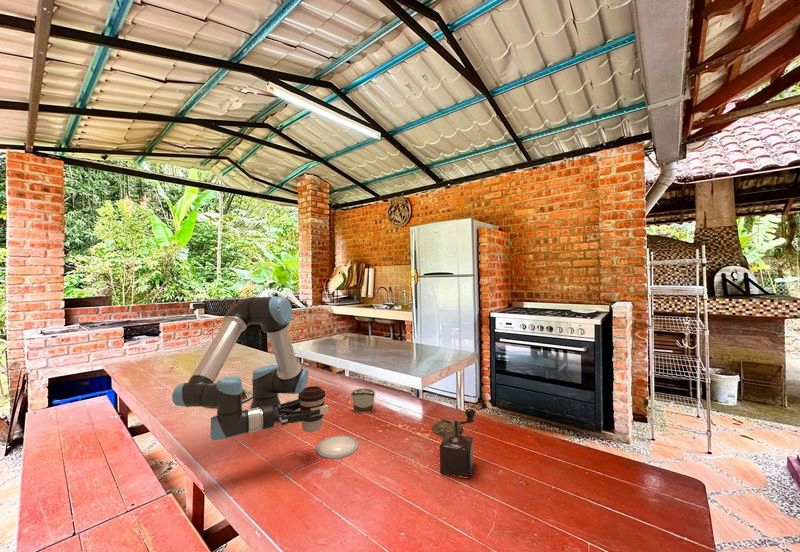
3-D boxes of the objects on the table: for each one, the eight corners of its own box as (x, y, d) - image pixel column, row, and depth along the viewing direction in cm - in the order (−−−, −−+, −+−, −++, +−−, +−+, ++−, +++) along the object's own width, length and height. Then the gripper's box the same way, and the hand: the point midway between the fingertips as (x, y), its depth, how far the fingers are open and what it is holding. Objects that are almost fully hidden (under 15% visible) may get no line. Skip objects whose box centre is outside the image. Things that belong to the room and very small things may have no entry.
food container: (377, 407, 166) (377, 388, 166) (375, 412, 160) (375, 392, 160) (354, 407, 167) (353, 387, 167) (351, 412, 161) (350, 391, 161)
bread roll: (466, 431, 140) (466, 419, 140) (450, 442, 131) (450, 429, 131) (442, 422, 149) (442, 411, 149) (425, 431, 140) (425, 420, 140)
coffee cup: (331, 425, 125) (330, 386, 125) (313, 436, 116) (313, 395, 116) (311, 420, 129) (310, 383, 130) (292, 431, 121) (292, 391, 121)
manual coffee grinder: (472, 480, 106) (471, 425, 106) (439, 474, 110) (438, 420, 110) (477, 455, 121) (476, 407, 121) (447, 450, 124) (447, 403, 124)
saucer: (311, 444, 130) (311, 442, 130) (348, 433, 139) (348, 431, 139) (324, 463, 117) (324, 461, 117) (364, 450, 125) (364, 448, 125)
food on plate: (244, 388, 198) (244, 378, 198) (261, 399, 181) (261, 387, 181) (197, 400, 180) (196, 388, 180) (210, 413, 163) (209, 400, 163)
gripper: (257, 417, 123) (315, 405, 134) (266, 442, 104) (333, 425, 116) (257, 398, 123) (315, 387, 135) (265, 418, 104) (333, 404, 116)
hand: (323, 404), depth 125 cm, fingers closed on coffee cup, 9 cm apart
